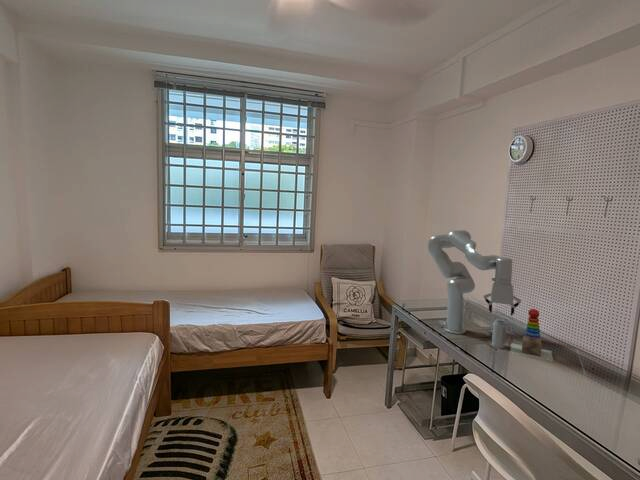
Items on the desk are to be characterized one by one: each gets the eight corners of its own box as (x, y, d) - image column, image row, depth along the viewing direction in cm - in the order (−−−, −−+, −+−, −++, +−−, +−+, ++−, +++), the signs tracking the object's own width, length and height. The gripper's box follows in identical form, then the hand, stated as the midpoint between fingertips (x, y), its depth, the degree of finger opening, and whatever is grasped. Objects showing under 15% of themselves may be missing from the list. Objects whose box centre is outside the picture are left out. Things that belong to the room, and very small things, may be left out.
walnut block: (521, 352, 172) (522, 341, 171) (522, 346, 179) (522, 336, 178) (540, 356, 168) (541, 345, 167) (540, 350, 175) (541, 339, 174)
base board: (510, 354, 173) (510, 352, 172) (511, 345, 184) (511, 343, 184) (553, 363, 163) (553, 361, 163) (551, 353, 175) (551, 350, 174)
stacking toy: (536, 339, 192) (538, 307, 190) (543, 345, 184) (546, 311, 182) (521, 338, 193) (524, 306, 191) (528, 344, 185) (531, 311, 183)
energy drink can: (492, 344, 185) (494, 317, 183) (505, 347, 181) (507, 320, 179) (490, 348, 180) (492, 320, 178) (502, 351, 176) (504, 323, 174)
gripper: (483, 280, 177) (482, 312, 179) (522, 284, 168) (520, 318, 170) (485, 278, 184) (483, 308, 185) (522, 281, 175) (520, 314, 177)
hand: (501, 313), depth 178 cm, fingers open, 9 cm apart
